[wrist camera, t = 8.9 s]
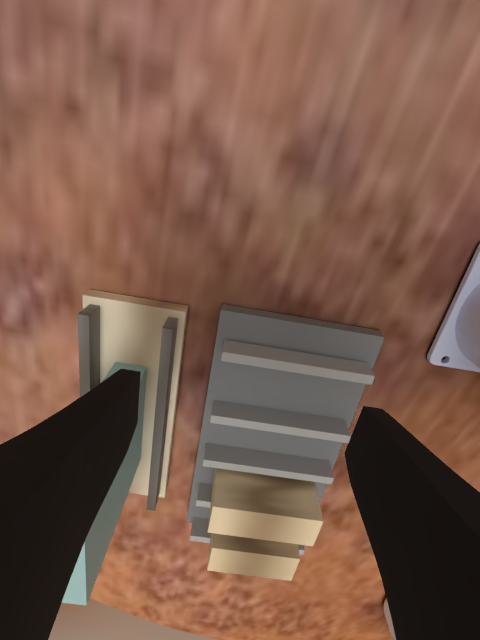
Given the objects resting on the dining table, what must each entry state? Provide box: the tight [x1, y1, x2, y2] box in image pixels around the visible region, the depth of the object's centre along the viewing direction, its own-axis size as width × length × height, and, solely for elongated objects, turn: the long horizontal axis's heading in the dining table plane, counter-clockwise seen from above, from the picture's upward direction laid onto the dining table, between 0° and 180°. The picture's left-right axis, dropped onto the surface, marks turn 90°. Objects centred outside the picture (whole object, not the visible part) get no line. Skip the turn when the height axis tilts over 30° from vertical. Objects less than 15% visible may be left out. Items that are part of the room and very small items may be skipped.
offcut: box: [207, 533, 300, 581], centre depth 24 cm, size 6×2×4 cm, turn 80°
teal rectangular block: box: [62, 362, 147, 605], centre depth 18 cm, size 8×2×9 cm, turn 170°
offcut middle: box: [208, 468, 323, 546], centre depth 23 cm, size 7×2×4 cm, turn 80°
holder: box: [78, 289, 188, 511], centre depth 22 cm, size 6×16×2 cm, turn 170°
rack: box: [186, 304, 385, 555], centre depth 23 cm, size 10×19×2 cm, turn 170°
